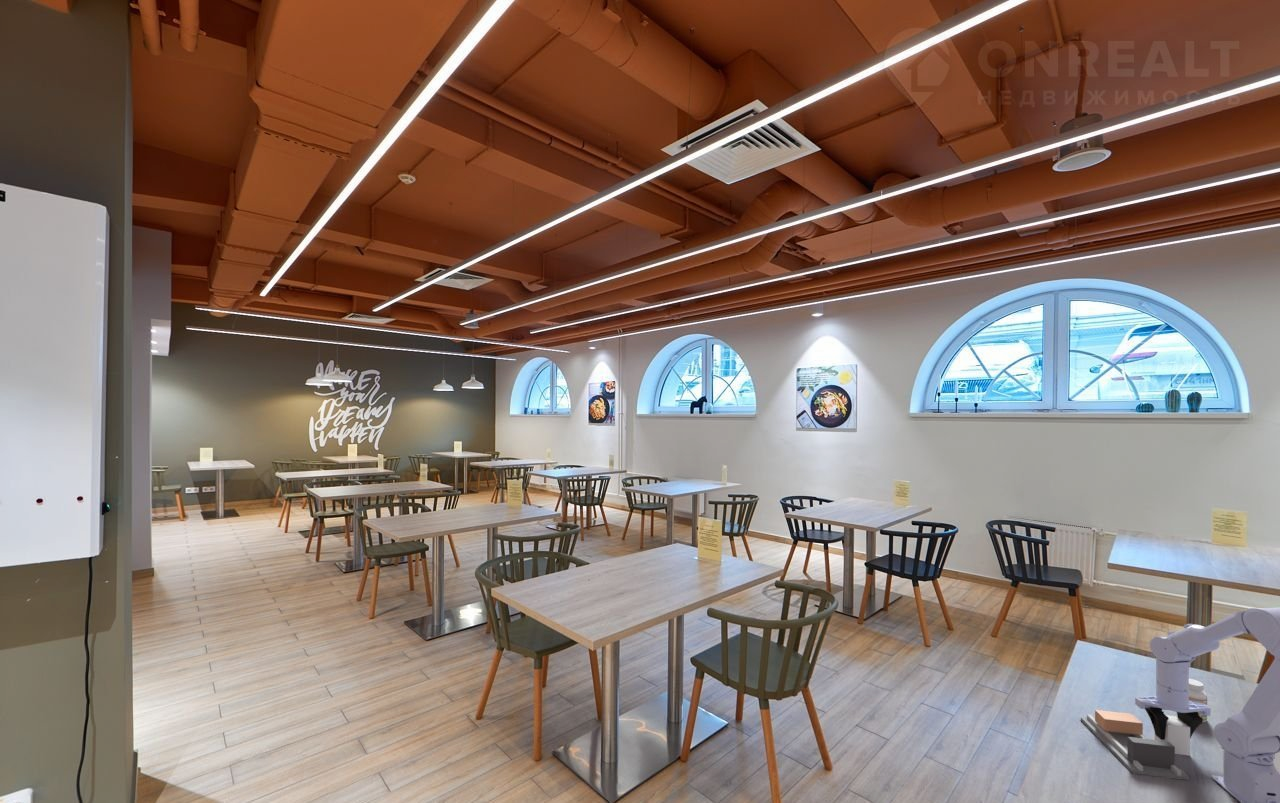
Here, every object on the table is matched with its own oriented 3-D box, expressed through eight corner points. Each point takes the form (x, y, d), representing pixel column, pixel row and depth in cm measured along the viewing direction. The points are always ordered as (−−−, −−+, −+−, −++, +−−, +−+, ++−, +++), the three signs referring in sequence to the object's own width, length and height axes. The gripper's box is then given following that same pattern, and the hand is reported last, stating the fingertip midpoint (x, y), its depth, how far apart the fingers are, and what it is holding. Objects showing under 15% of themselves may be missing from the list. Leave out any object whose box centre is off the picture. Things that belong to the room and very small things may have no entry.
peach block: (1142, 734, 132) (1142, 723, 132) (1104, 730, 134) (1104, 719, 134) (1131, 725, 136) (1131, 713, 136) (1094, 721, 138) (1095, 709, 138)
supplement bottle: (1176, 708, 146) (1177, 674, 146) (1204, 715, 143) (1205, 680, 143) (1180, 717, 142) (1180, 682, 142) (1209, 725, 139) (1209, 689, 139)
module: (1190, 755, 128) (1190, 727, 127) (1168, 752, 129) (1168, 725, 128) (1175, 743, 132) (1175, 716, 132) (1154, 741, 133) (1154, 714, 133)
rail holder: (1188, 780, 120) (1188, 753, 119) (1132, 772, 122) (1132, 746, 122) (1128, 725, 139) (1128, 702, 139) (1080, 720, 142) (1080, 697, 141)
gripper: (1194, 679, 132) (1194, 732, 132) (1126, 673, 136) (1126, 724, 136) (1218, 695, 125) (1217, 750, 126) (1146, 688, 129) (1146, 742, 129)
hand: (1171, 738), depth 130 cm, fingers closed on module, 4 cm apart
